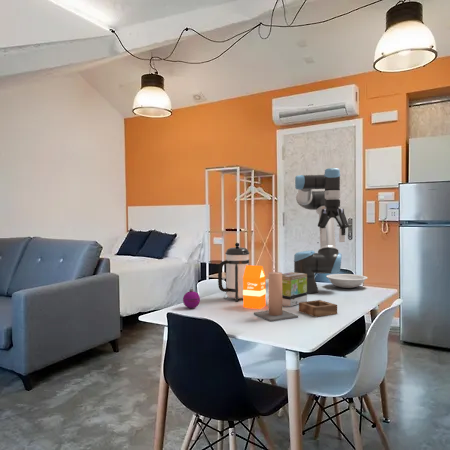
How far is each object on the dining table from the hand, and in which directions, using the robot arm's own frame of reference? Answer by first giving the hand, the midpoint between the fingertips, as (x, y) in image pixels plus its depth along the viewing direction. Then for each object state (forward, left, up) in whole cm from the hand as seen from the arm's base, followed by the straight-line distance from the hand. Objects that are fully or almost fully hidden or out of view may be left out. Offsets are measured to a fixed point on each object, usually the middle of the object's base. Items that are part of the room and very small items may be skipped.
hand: (332, 241), depth 201 cm
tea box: (-8, -20, -31) cm, 38 cm away
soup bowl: (-28, +35, -31) cm, 54 cm away
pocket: (+14, -21, -31) cm, 40 cm away
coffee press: (-29, -40, -31) cm, 58 cm away
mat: (+10, -41, -31) cm, 52 cm away
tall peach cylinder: (+10, -41, -30) cm, 52 cm away
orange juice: (-10, -40, -31) cm, 52 cm away
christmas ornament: (-22, -68, -31) cm, 78 cm away
